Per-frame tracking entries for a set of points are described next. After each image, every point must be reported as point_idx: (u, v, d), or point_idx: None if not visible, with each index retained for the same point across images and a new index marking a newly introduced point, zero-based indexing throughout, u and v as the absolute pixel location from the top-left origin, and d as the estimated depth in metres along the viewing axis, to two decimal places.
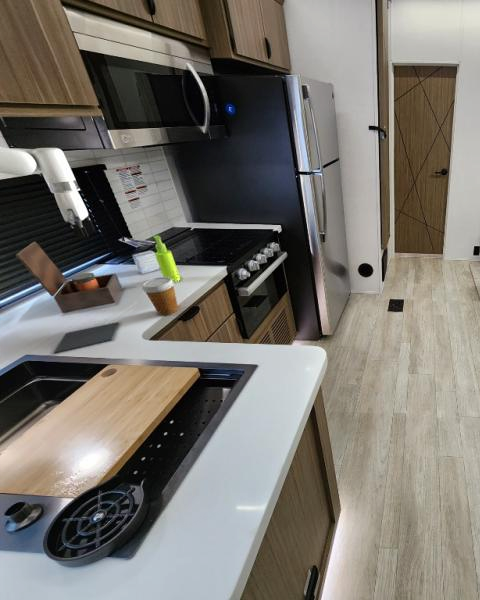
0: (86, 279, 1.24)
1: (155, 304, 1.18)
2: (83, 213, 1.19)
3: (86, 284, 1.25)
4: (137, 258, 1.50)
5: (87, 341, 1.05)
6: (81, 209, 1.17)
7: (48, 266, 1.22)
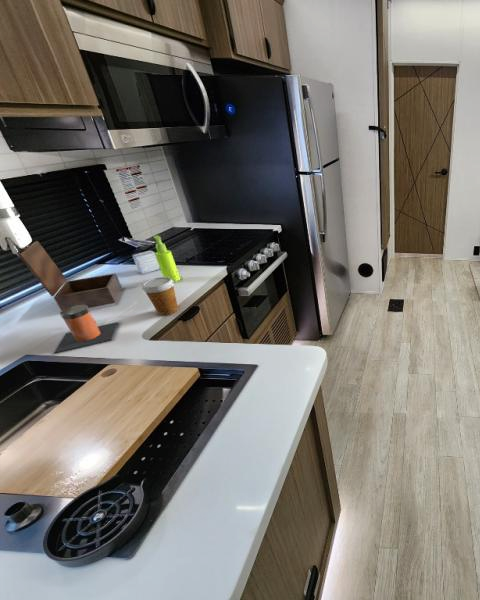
0: (78, 314, 1.02)
1: (155, 304, 1.18)
2: (24, 240, 1.13)
3: (78, 320, 1.03)
4: (137, 258, 1.50)
5: (87, 341, 1.05)
6: (21, 236, 1.12)
7: (49, 266, 1.22)
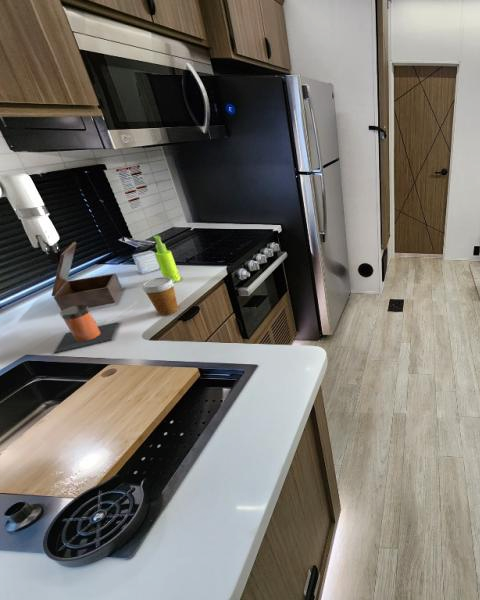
0: (78, 314, 1.02)
1: (155, 304, 1.18)
2: (53, 238, 1.16)
3: (78, 320, 1.03)
4: (137, 258, 1.50)
5: (87, 341, 1.05)
6: (50, 234, 1.15)
7: (68, 266, 1.25)
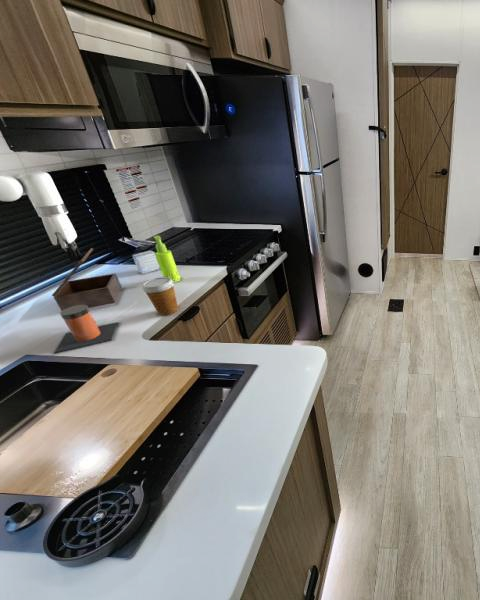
0: (78, 314, 1.02)
1: (155, 304, 1.18)
2: (71, 236, 1.18)
3: (78, 320, 1.03)
4: (137, 258, 1.50)
5: (87, 341, 1.05)
6: (69, 232, 1.17)
7: None
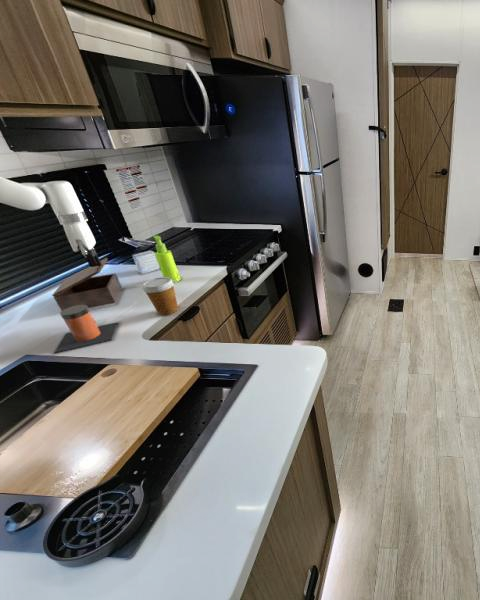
0: (78, 314, 1.02)
1: (155, 304, 1.18)
2: (91, 242, 1.21)
3: (78, 320, 1.03)
4: (137, 258, 1.50)
5: (87, 341, 1.05)
6: (89, 239, 1.20)
7: None
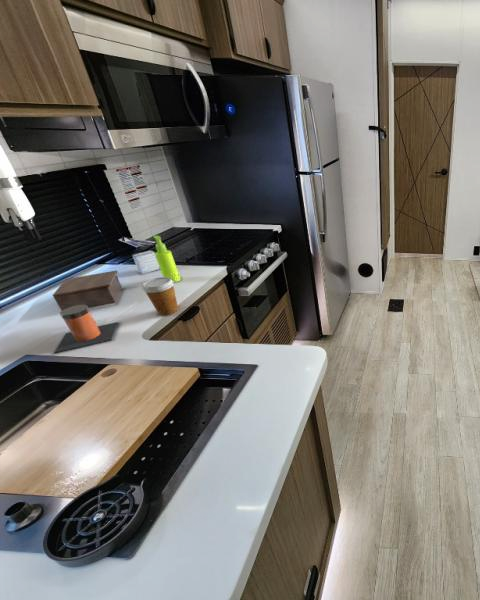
0: (78, 314, 1.02)
1: (155, 304, 1.18)
2: (27, 213, 1.07)
3: (78, 320, 1.03)
4: (137, 258, 1.50)
5: (87, 341, 1.05)
6: (24, 208, 1.06)
7: None
